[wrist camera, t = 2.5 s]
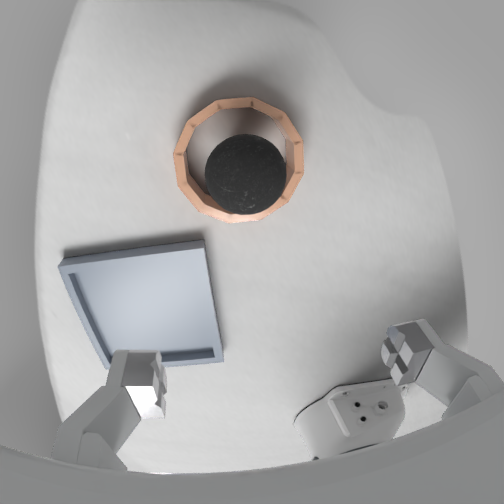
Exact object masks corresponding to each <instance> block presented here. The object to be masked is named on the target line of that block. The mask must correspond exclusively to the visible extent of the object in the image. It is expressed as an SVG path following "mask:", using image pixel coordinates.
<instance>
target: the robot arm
mask: <svg viewBox="0 0 504 504" xmlns="http://www.w3.org/2000/svg"><path fill="white" fill-rule="evenodd" d="M386 334H387V335H388V338H387V339H386V340H385V341H384V342H383V344H382V347H381V356H382V359H383V362H384V363H385V365H386V366H388V367H389V368H391V372H390V374H391V376H392V378H393V379H387V380H381V381H375V382H368V383H362V384H354V385H347V386H339V387H336V388H334V389H333V390H331V391H330V392H329V393H328V394H327V395H326V396H325V397H324V398H322V399H321V400H319V401H317V402H316V403H314V404H312V405H310V406H309V407H307V408H306V409H305V410H303V411H302V412H301V413H300V414H299V415H298V416H297V418H296V420H295V422H294V427H295V429H296V430H297V431H298V433H299V434H300V436H301V438H302V439H303V441H304V443H305V445H306V447H307V450H308V452H309V454H310V457H311V459H312V461H308V462H302V463H297V464H291V465H285V466H278V467H271V468H263V469H254V470H244V471H232V472H216V473H151V472H136V471H127V467H126V466H125V465H124V464H123V462H122V461H121V460H120V459H119V458H118V456H117V455H116V453H117V452H118V450H119V449H120V448H121V446H122V445H123V444H124V442H125V441H126V440H127V438H128V437H129V436H130V434H131V433H132V432H133V430H134V429H135V427H136V426H137V425H138V423H139V422H140V421H141V418H165V409H166V401H165V398H164V394H165V393H166V392H167V377H166V371H165V367H164V366H163V365H162V364H161V359H162V357H161V354H160V351H159V350H118V349H116V351H115V352H114V354H113V358H112V361H111V365H110V369H109V373H108V377H107V382H106V386H101V387H100V388H99V389H98V390H97V391H96V392H95V393H94V394H93V395H92V396H91V397H90V398H88V399H87V400H86V401H85V402H84V403H83V404H82V405H81V406H80V407H79V408H78V409H77V410H76V411H75V412H74V413H73V414H71V415H70V416H69V417H68V418H67V419H66V420H65V421H64V422H63V423H62V424H61V425H60V426H59V427H58V430H57V434H56V438H55V442H54V446H53V451H52V455H51V459H49V458H45V457H41V456H37V455H33V454H29V453H26V452H22V451H18V450H15V449H12V448H9V447H6V446H3V445H0V504H504V383H503V381H502V380H501V378H500V377H499V376H498V374H497V373H496V372H495V370H494V369H493V368H492V367H491V366H489V365H488V364H485V363H483V362H482V361H480V360H478V359H475V358H474V357H472V356H470V355H468V354H466V353H464V352H462V351H460V350H458V349H456V348H454V347H452V346H450V345H448V344H447V345H445V344H444V343H443V341H442V340H441V339H440V337H439V336H438V335H437V333H436V332H435V331H434V330H433V328H432V327H431V326H430V324H429V323H428V322H427V321H426V320H425V319H423V318H422V319H418V320H413V321H409V322H404V323H399V324H394V325H391V326H390V327H389V328H388V330H387V333H386ZM415 381H416V382H415ZM412 382H415V383H416V384H418V385H419V386H420V387H422V388H423V389H424V390H426V391H427V392H428V393H430V394H431V395H432V396H434V397H435V398H436V399H438V400H439V401H441V402H442V403H443V404H445V405H446V406H447V407H448V408H447V409H446V411H445V412H444V413H443V415H442V417H441V418H442V421H439V422H437V423H435V424H432V425H430V426H427V427H425V428H422V429H420V430H417V431H414V432H412V433H409V434H406V435H404V436H401V437H398V438H395V439H393V437H394V436H395V434H396V433H397V431H398V429H399V427H400V426H401V424H402V422H403V420H404V417H405V405H404V402H403V400H404V398H405V396H406V394H407V390H408V383H412Z"/></svg>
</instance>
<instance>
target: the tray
mask: <svg viewBox="0 0 504 504" xmlns="http://www.w3.org/2000/svg"><path fill="white" fill-rule="evenodd" d="M58 269H59V271H60V274H61V277H62V279H63V282H64V284H65V286H66V289H67V291H68V294H69V296H70V298H71V301H72V303H73V305H74V307H75V310H76V312H77V314H78V316H79V318H80V320H81V323H82V325H83V327H84V329H85V331H86V333H87V335H88V337H89V339H90V341H91V343H92V345H93V347H94V349H95V351H96V352H97V354H98V356H99V358H100V360H101V362H102V364H103V365H104V367H105V369H110V365H111V361H112V358H113V354H114V352H115V351H116V349H118V350H159V351H160V354H161V357H162V359H161V364H162V365H163V366H164V367H174V366H187V365H199V364H209V363H218V362H224V354H223V347H222V342H221V337H220V332H219V326H218V321H217V315H216V309H215V304H214V298H213V292H212V286H211V280H210V274H209V268H208V262H207V256H206V249H205V243H204V240H197V241H189V242H181V243H173V244H165V245H157V246H149V247H142V248H134V249H127V250H119V251H112V252H105V253H97V254H90V255H83V256H76V257H69V258H64V259H63V260H62V261H61V263H60V264H59V265H58Z"/></svg>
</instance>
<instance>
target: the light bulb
mask: <svg viewBox="0 0 504 504" xmlns="http://www.w3.org/2000/svg"><path fill="white" fill-rule="evenodd" d="M286 177H287V173H286V165H285V162H284V159H283V157H282V155H281V154H280V152H279V150H278V149H277V148H276V147H275V146H274V145H273V144H272V143H271V142H269V141H268V140H266V139H264V138H262V137H259V136H256V135H249V134H242V135H236V136H233V137H230V138H228V139H226V140H224V141H223V142H221V143H220V144H219V145H217V146H216V148H215V149H214V150H213V151H212V152H211V154H210V156H209V158H208V160H207V163H206V167H205V181H206V186H207V189H208V191H209V193H210V195H211V197H212V198H213V200H214V201H215V202H216V203H217V204H218V205H219V206H221V207H222V208H223V209H225V210H227V211H229V212H232V213H234V214H239V215H252V214H256V213H260V212H262V211H264V210H266V209H268V208H269V207H271V206H272V205H273V204H274V203H275V202H276V201H277V200H278V199H279V197H280V196H281V194H282V192H283V190H284V188H285V183H286Z"/></svg>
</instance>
